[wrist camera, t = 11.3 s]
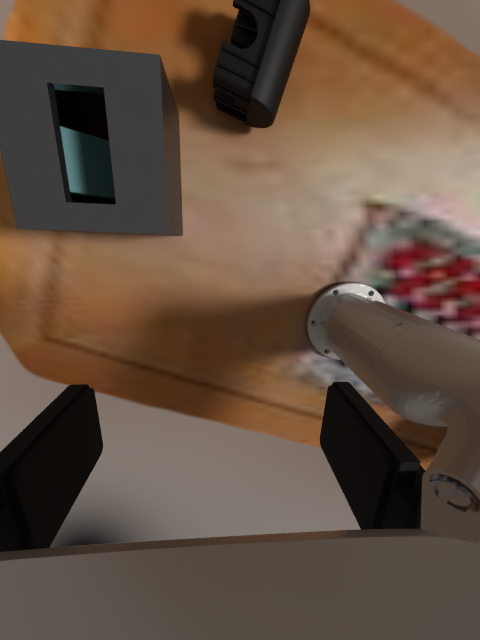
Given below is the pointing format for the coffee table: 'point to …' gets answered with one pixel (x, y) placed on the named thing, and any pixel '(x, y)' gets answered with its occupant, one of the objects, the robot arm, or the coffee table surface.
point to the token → (88, 164)
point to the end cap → (259, 59)
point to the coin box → (123, 127)
